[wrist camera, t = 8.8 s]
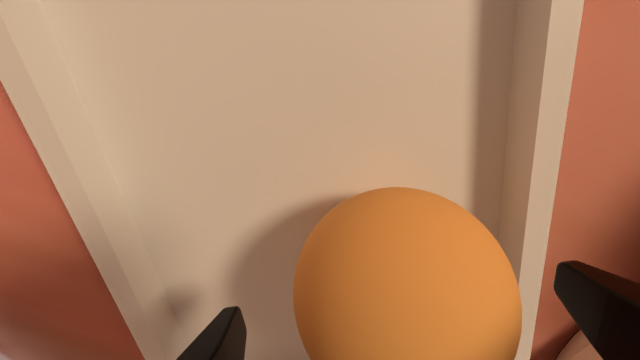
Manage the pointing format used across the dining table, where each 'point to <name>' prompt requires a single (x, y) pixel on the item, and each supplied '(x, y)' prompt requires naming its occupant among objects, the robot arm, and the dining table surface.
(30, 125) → the tray
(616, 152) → the dining table surface
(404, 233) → the ball
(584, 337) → the bowl
